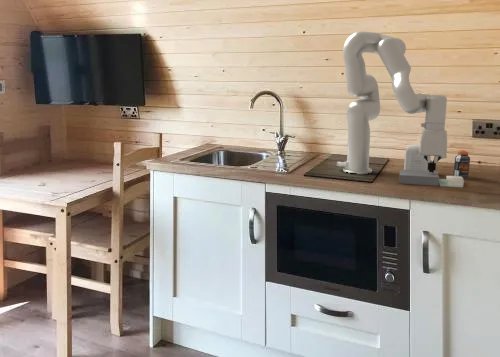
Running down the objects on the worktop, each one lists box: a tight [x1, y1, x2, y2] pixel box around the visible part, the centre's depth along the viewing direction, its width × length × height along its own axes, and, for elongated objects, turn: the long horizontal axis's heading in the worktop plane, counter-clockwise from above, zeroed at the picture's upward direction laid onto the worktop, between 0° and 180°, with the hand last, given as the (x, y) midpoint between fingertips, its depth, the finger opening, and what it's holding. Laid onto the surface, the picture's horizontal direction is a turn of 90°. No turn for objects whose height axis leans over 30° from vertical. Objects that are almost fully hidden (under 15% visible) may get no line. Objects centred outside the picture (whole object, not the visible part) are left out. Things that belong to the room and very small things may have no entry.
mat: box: [438, 178, 464, 188], centre depth 213 cm, size 8×12×1 cm
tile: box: [445, 175, 465, 187], centre depth 212 cm, size 6×8×2 cm
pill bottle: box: [452, 149, 471, 180], centre depth 223 cm, size 6×6×11 cm
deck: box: [398, 169, 440, 187], centre depth 216 cm, size 15×11×4 cm
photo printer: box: [403, 144, 429, 171], centre depth 232 cm, size 10×4×12 cm, turn 67°
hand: (431, 171), depth 214 cm, fingers closed
